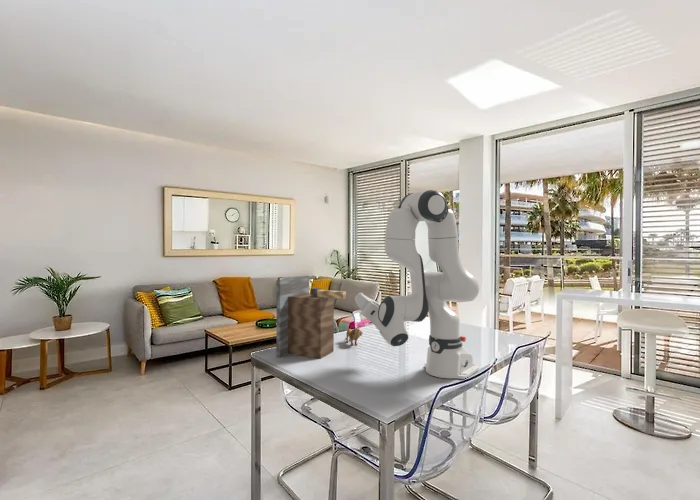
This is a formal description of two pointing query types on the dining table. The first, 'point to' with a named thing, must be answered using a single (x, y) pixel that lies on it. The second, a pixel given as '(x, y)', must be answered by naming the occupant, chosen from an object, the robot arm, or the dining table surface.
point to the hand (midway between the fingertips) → (368, 298)
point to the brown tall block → (303, 320)
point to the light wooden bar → (328, 293)
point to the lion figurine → (353, 335)
